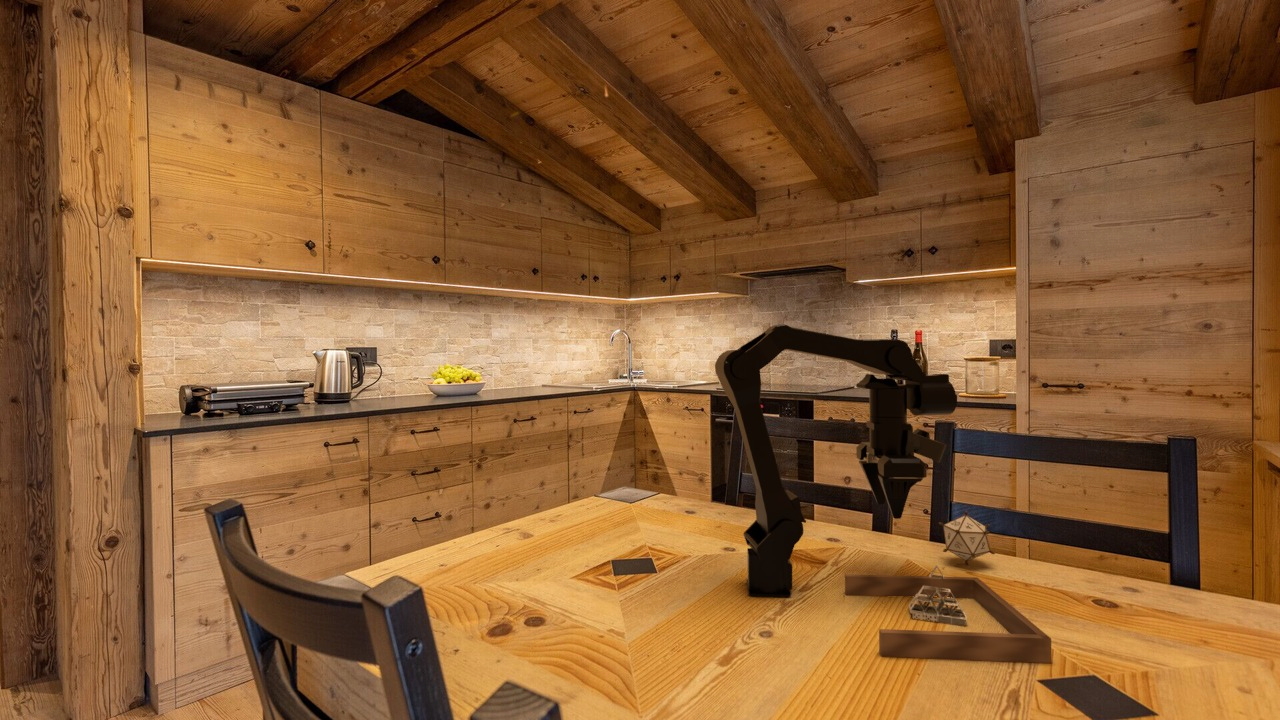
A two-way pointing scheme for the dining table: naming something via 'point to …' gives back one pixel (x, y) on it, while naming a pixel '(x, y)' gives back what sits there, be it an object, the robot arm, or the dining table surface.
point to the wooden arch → (1013, 647)
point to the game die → (966, 538)
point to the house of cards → (938, 611)
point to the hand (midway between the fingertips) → (888, 511)
